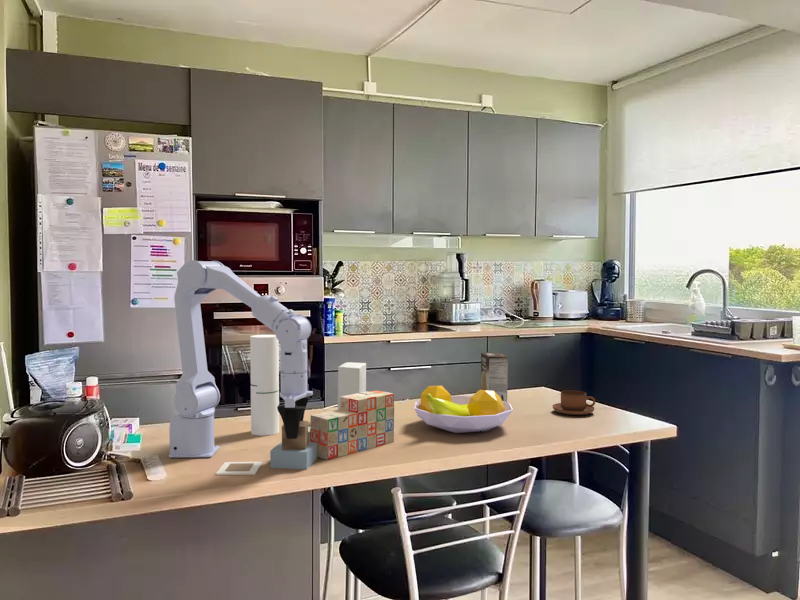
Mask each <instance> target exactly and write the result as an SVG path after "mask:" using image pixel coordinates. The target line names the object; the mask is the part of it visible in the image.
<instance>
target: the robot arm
mask: <svg viewBox="0 0 800 600" xmlns="http://www.w3.org/2000/svg"><path fill="white" fill-rule="evenodd" d="M176 274H177V275H176V276H177V285H176V289H175V292H174V297H173V299H174V309H175V317H176V318H175V319H176V324H177V325H176V326H177V335H178V344H179V346H178V347H179V352H180V354H179V355H180V362H181V372H182V375H181V376H180V378H179V379H178V380H177V382H176V383H175V395H174V398H173V406H174V409H175V410H176V412H177V413H178V414H175V415H173V416H172V417H171V419H170V423H169V455H168V457H169V458H211V457H213V456H214V455H215V453H216V452H217V451H218V450H219V449H220V446H219V445H215V412H216V407H217V406H218V405H219V404H220V403H219V402H220V401H221V393H220V390H219V388H218V386H217V385H216V381H215V380H216V378H215V376H214V375H213V374H212V373H211V372H210V371H209V370H208V362H207V353H206V344H205V335H204V326H203V318H202V308H201V303H202V302H203V301H204V300H205V298H207V296H208V295H209V294H211V293H213V292H214V291H215V290H219V289H220V290H223V291H225V292H227V293H229V294H230V295H231V296H233V297H235V298H236V299H237V300H239V301H240V302H242V303H243V304H245V305H246V306H248V307H249V308H251V314H252V316H253V317H254V318H255V319H256V320H257V321H259V322H260V323H262V324H263V325H265V326H266V327H267V328H268V329H270V330H271V331H272V332H274V335H276V338H277V339H278V341H279V349H280V350H279V351H280V352H279V354H280V391H279V398H282V399H283V401H284V404H279V405H278V407H277V409H278V412H279V416H280V417H281V420H282V422H283V424H284V428H285V433H286V437H287V439H297V436H298V431H299V424H300V421H304V417H305V412H306V409H307V405H308V402H309V400H310V397H312V396H313V394H314V393H313V392H314V391H312V390H308V339H309V337H310V336H311V334H312V324H311V322H310V320H309V319H307V317H306V315H302V314H295V311H294V310H293V309H292V308H291V309H288V308H287V307H286V306H284V305H283V304H281V302H279V301H278V300H279V298H278V297H276V295H270V294H265V295H261V294H259V293H258V292H257V291H256V290H255V289H253V288H252V287H251V286H250V285H248V284H247V283H246V282H245V281H244V280H243V279H241V278H240V277H239V276H238V275H236V274H235V273H234V272H233V270H232V269H231V268H230V267H228V266H226V265H224V264H223V263H222V262H220V261H218V260H211V261H208V260H207V261H203V260H193V259H191V260H188V261H186V262H185V263H184V264H183V265H182V266H181V267H180V268H179V269H178V270H177V271H176ZM283 424H282V425H283Z"/></svg>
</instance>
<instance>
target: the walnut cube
mask: <svg viewBox="0 0 800 600" xmlns="http://www.w3.org/2000/svg"><path fill="white" fill-rule="evenodd" d="M308 427H309V422H308V420H303V421H300V424H299V431H298V436H297V439H287V437H286V433H285V428H284V424H282V425H281V442H282V450H305V449H306V447H307V445H308Z"/></svg>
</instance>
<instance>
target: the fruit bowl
mask: <svg viewBox="0 0 800 600" xmlns="http://www.w3.org/2000/svg"><path fill="white" fill-rule="evenodd" d="M413 409H414V411H415V413H416V416H417V417H418V418H419V419H420V420H422V421H423V422H425V424H426V425H429V426H432V427H436V428H438V429H441V430H443V431H447V432H451V433H453V434H458V433H459V434H463V433H476V432H478V433H479V432H480V431H481V432H488V431H489V430H491V429H493V428H495V427H496V428H497V427H498V426H501V425H503V424H504V423H505V422H506V420H507V419H508V417H510V415H511V413H512V412H513V411H514V409H513V407H512V405H511V403H510V402H508V401H507V402H503V401H502V399H501V397H500V396H499V395H498V394H497V393H496V392H495V391H491V390H481V389H479V390H477V391H476V392H475V393H474V394H473V395H470V396H469V395H452V394H451V393H450V392H449V391H448V390H447V389H446V388H445V387H444V386H443V385H428V386H426V388H425V389H424V390H423V391H422V392H421V393H420V400H418V401H417V400H416V401H415V402H414V408H413Z"/></svg>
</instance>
